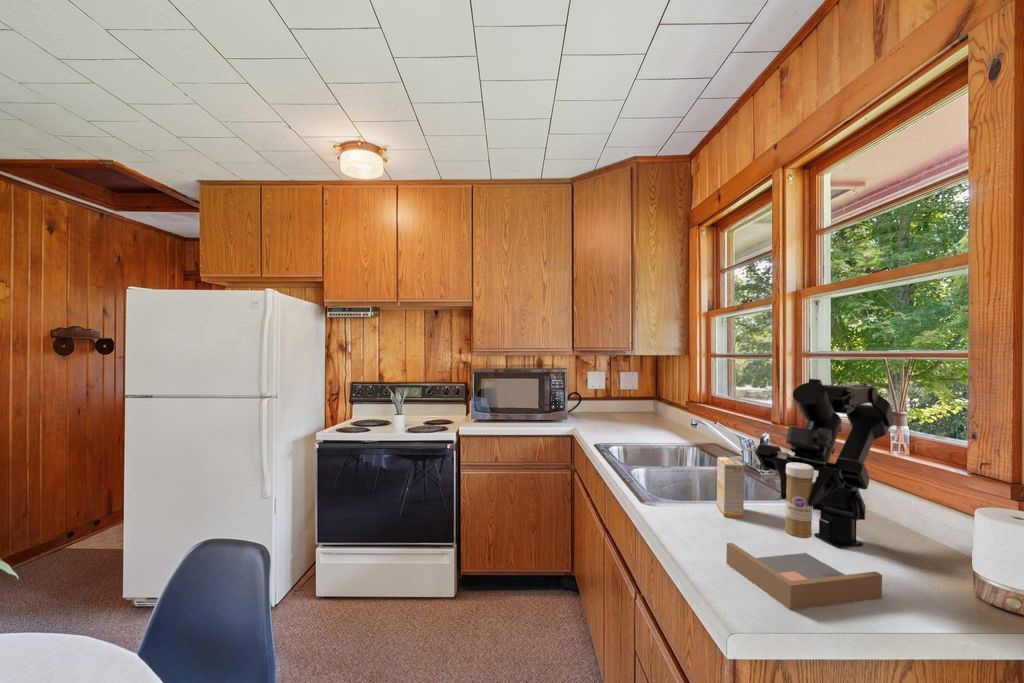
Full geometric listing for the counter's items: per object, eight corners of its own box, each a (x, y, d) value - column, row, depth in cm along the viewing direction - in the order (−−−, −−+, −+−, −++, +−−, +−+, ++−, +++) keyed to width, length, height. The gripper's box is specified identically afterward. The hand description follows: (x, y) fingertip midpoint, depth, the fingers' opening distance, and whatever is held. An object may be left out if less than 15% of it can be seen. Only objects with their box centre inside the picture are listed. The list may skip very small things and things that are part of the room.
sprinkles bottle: (789, 538, 90) (790, 467, 90) (781, 528, 95) (782, 460, 94) (816, 540, 89) (817, 469, 89) (807, 530, 94) (808, 462, 93)
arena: (805, 555, 98) (805, 535, 98) (881, 598, 82) (882, 574, 82) (726, 563, 94) (726, 543, 94) (790, 609, 78) (790, 585, 78)
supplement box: (744, 518, 117) (745, 465, 117) (723, 517, 118) (724, 464, 118) (735, 506, 125) (736, 457, 125) (716, 505, 126) (716, 455, 126)
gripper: (759, 405, 101) (732, 466, 95) (864, 417, 86) (842, 491, 80) (775, 436, 106) (751, 497, 100) (878, 453, 92) (857, 525, 85)
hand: (796, 501), depth 91 cm, fingers closed on sprinkles bottle, 4 cm apart
